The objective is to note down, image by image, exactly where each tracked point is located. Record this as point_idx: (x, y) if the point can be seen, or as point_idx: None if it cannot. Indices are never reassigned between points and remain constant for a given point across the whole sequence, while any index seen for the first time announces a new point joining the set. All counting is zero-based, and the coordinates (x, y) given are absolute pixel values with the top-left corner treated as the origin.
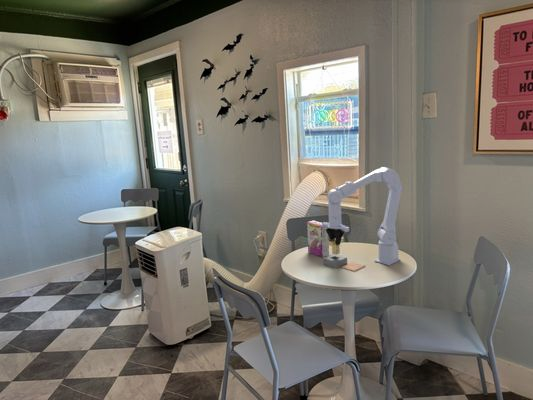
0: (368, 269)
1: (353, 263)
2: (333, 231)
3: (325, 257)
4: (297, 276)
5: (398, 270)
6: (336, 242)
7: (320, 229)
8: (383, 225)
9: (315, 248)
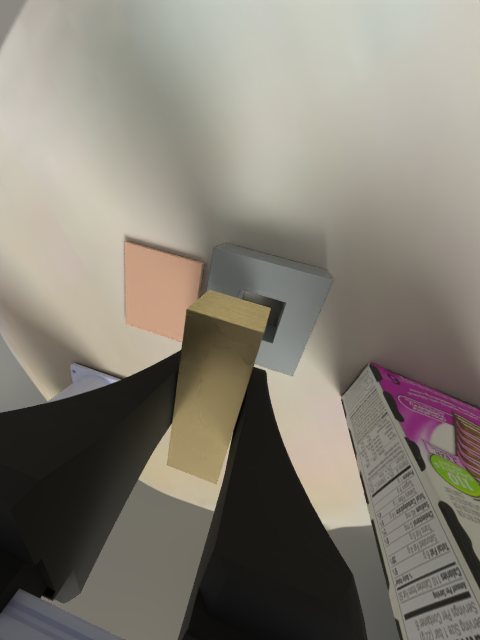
0: (101, 298)
1: (177, 329)
2: (204, 553)
3: (319, 298)
4: None
5: (28, 331)
6: (178, 357)
7: None
8: None
9: (451, 415)
